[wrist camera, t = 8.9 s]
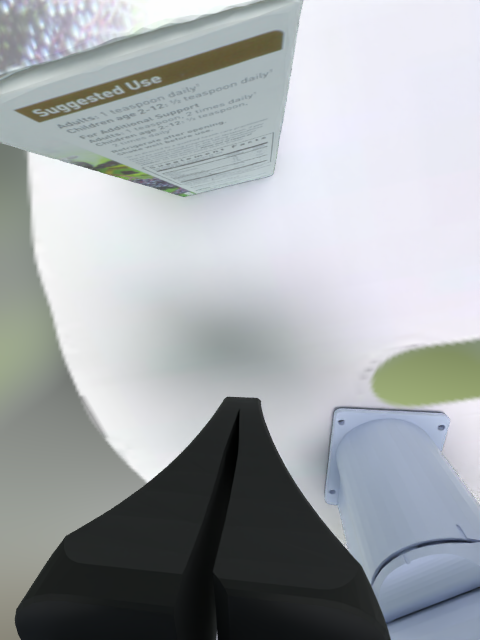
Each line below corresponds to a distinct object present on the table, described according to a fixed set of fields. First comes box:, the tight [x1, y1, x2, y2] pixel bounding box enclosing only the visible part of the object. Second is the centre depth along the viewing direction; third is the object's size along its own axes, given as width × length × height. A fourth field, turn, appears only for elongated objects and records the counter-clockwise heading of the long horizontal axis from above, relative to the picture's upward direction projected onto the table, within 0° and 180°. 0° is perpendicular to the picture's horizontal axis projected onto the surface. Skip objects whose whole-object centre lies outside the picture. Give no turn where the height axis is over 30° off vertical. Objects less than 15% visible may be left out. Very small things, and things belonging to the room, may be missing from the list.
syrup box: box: [0, 0, 303, 197], centre depth 9 cm, size 6×6×14 cm
